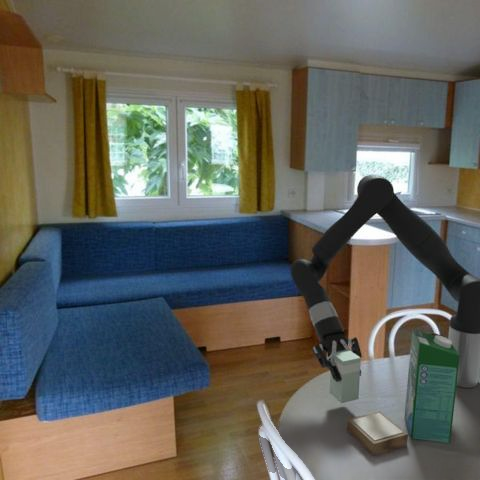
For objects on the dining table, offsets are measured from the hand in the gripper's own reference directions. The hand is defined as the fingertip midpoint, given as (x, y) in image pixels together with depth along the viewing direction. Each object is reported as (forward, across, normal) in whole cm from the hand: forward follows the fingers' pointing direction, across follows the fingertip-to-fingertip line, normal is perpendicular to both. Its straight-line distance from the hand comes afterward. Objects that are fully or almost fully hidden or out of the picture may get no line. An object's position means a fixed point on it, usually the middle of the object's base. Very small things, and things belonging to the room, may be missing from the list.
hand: (348, 378), depth 113 cm
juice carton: (+3, 0, +6) cm, 6 cm away
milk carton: (+17, +14, -3) cm, 22 cm away
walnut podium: (+15, 0, -2) cm, 15 cm away
